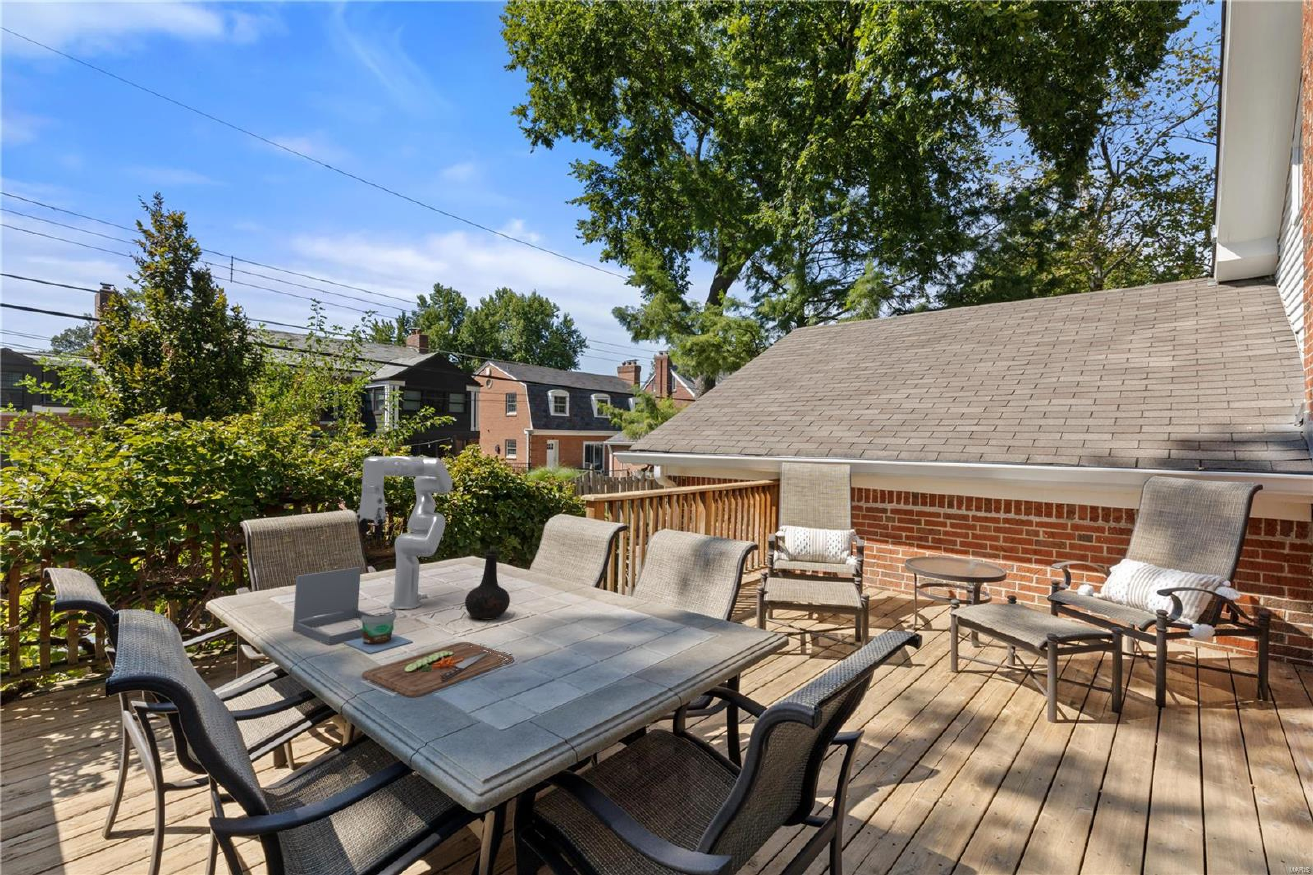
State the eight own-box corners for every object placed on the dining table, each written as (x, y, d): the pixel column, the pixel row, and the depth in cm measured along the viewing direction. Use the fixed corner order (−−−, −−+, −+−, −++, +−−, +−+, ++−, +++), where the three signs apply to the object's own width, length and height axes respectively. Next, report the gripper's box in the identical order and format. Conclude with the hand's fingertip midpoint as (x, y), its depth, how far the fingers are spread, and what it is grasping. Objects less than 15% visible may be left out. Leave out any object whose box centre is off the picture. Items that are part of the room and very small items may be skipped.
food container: (368, 648, 199) (370, 619, 199) (358, 644, 202) (360, 615, 203) (401, 640, 209) (403, 612, 209) (392, 636, 212) (394, 608, 213)
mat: (386, 633, 217) (386, 631, 217) (412, 642, 208) (412, 641, 208) (343, 643, 204) (343, 642, 204) (370, 654, 195) (370, 652, 195)
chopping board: (470, 642, 213) (470, 634, 213) (523, 659, 199) (523, 650, 199) (349, 679, 175) (350, 669, 175) (404, 704, 161) (405, 692, 161)
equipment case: (356, 616, 235) (359, 566, 236) (393, 629, 222) (396, 576, 222) (292, 630, 215) (296, 575, 215) (329, 645, 201) (333, 587, 202)
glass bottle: (455, 619, 238) (459, 550, 239) (480, 608, 256) (484, 544, 256) (493, 625, 233) (497, 555, 234) (516, 614, 250) (520, 548, 251)
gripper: (395, 491, 225) (393, 535, 225) (368, 487, 234) (366, 530, 234) (377, 492, 219) (374, 537, 219) (350, 488, 228) (348, 532, 228)
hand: (370, 533), depth 227 cm, fingers open, 9 cm apart
